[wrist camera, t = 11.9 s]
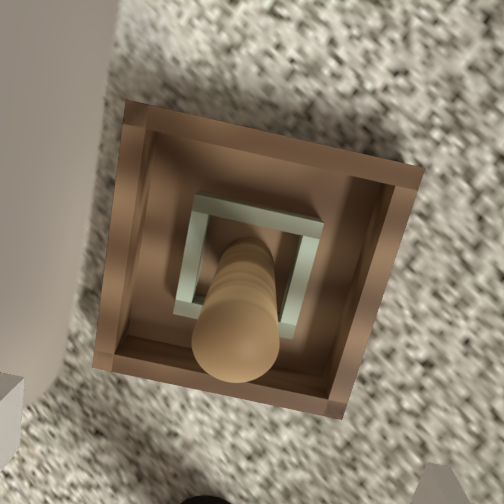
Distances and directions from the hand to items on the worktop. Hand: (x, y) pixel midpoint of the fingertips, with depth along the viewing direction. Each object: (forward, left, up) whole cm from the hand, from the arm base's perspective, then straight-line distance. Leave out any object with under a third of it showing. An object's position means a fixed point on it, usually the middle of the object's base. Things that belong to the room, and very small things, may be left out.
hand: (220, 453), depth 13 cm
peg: (0, 0, -21) cm, 21 cm away
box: (0, 0, -22) cm, 22 cm away
